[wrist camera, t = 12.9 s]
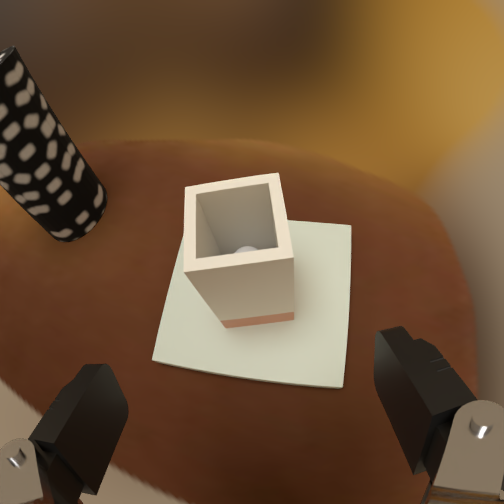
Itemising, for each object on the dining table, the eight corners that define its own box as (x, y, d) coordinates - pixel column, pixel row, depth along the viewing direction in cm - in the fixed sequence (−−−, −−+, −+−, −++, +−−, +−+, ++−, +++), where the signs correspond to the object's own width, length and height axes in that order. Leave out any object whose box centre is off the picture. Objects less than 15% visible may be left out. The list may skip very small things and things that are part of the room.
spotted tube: (65, 256, 30) (-61, 125, 13) (41, 218, 34) (-58, 104, 16) (120, 201, 33) (22, 47, 15) (88, 171, 36) (7, 44, 18)
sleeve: (225, 328, 23) (183, 272, 15) (221, 267, 26) (185, 187, 17) (293, 319, 23) (293, 257, 14) (284, 258, 26) (278, 172, 17)
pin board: (159, 363, 24) (112, 341, 18) (194, 223, 30) (168, 169, 23) (339, 388, 22) (359, 378, 15) (348, 234, 27) (362, 178, 21)
